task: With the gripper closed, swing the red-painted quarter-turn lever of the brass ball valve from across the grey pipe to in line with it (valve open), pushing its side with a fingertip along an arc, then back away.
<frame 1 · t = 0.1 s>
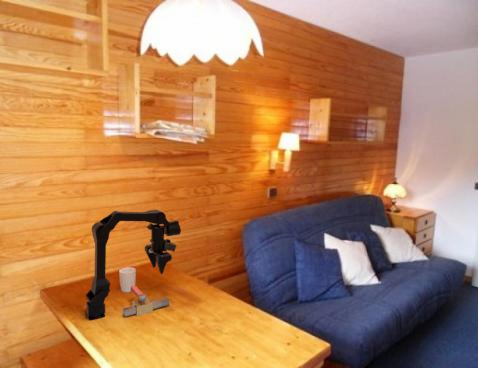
hand: (157, 270, 171), 15 cm above the table, fingers open, 9 cm apart
valve: (142, 311, 162), on the table
lever: (138, 293, 165), point 6 cm above the table, hinge at 90.0°
white cup: (127, 289, 184), on the table
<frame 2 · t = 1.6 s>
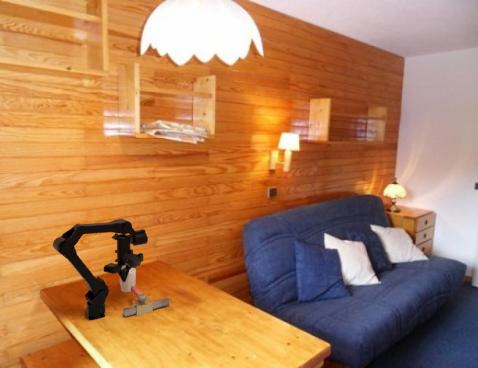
hand: (124, 281, 164), 12 cm above the table, fingers closed
nothing on the table moved.
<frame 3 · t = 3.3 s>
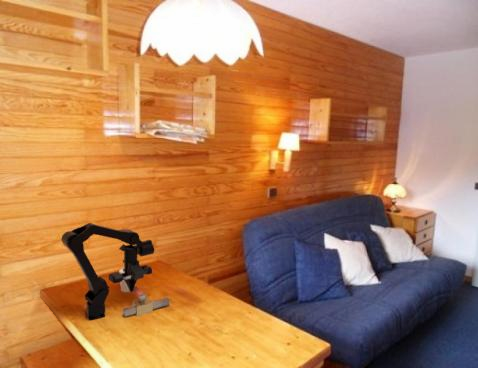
hand: (131, 291, 167), 6 cm above the table, fingers closed
lever: (138, 293, 165), point 6 cm above the table, hinge at 88.0°, touching gripper
everything else where it was.
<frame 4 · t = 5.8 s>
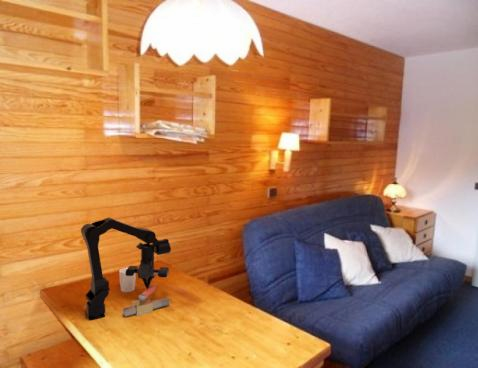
hand: (147, 289, 171), 6 cm above the table, fingers closed
lever: (147, 292, 166), point 6 cm above the table, hinge at 43.0°, touching gripper
everything else where it was.
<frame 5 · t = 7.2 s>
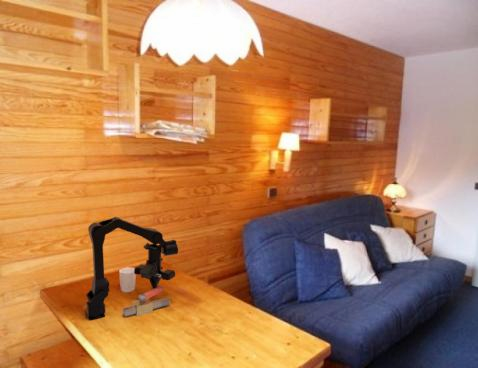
hand: (154, 289, 170), 6 cm above the table, fingers closed
lever: (151, 293, 165), point 6 cm above the table, hinge at 23.1°, touching gripper
everything else where it was.
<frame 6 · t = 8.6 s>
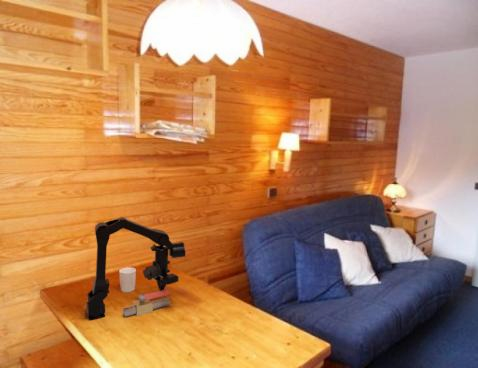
hand: (161, 292, 168), 6 cm above the table, fingers closed
lever: (153, 295, 164), point 6 cm above the table, hinge at -1.2°, touching gripper
everything else where it was.
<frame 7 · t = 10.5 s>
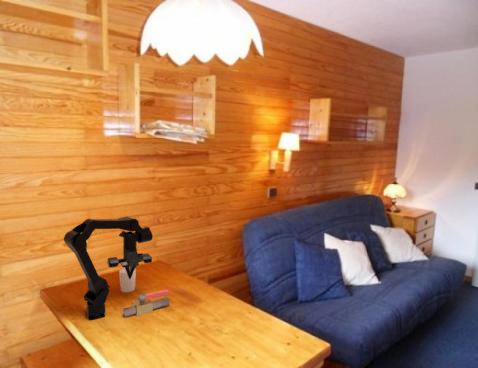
hand: (129, 278, 168), 12 cm above the table, fingers closed
lever: (153, 295, 164), point 6 cm above the table, hinge at -1.7°
everything else where it was.
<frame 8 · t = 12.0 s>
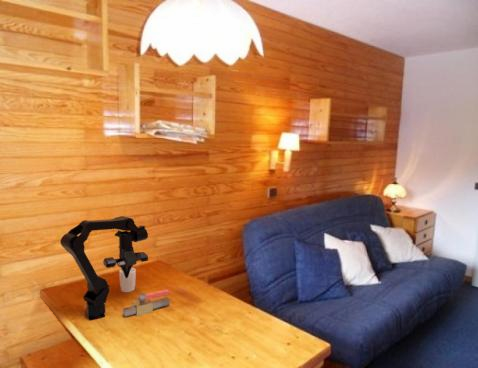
hand: (126, 277, 168), 12 cm above the table, fingers closed
nothing on the table moved.
at the end: lever at -2° (first picture: +90°); lever touching nothing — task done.
